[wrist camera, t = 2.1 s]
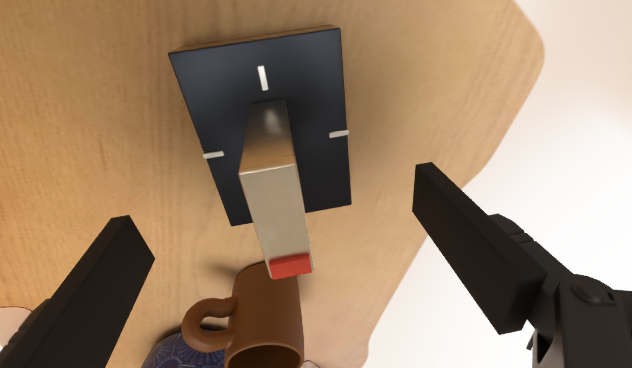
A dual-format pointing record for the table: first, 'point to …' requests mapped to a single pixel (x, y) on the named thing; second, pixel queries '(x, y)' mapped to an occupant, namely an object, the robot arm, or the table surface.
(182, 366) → the planter
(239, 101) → the socket base
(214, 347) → the mug
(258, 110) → the red-tipped metal block
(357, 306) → the table surface
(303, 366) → the ink box
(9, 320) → the u-slot mount
